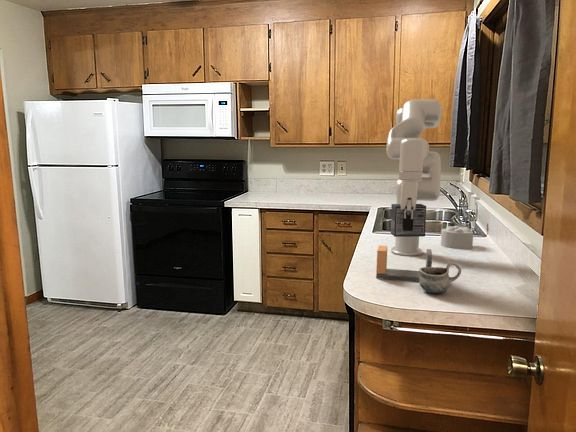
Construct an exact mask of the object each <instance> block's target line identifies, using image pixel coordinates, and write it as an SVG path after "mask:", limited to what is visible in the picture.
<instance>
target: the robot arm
mask: <svg viewBox="0 0 576 432" xmlns="http://www.w3.org/2000/svg"><path fill="white" fill-rule="evenodd" d="M442 106H443V105H442V103H441V102H440V101H439V100H437V99H435V98H434V99H433V98H432V99H431V98H429V99H428V98H427V99H426V98H425V99H420V98H419V99H411V100H408V101H406V102H404V105H403V106H402V107H401V108H399V109H398V110H397V111H396V114H395V122H396V123H395V126H393V127H392V128H391V129H390V130H389V132H388V135H387V140H386V147H385V149H386V155H387V157H388V158H389V159H391V160H397V161H398V160H399V170H398V179H397V180H396V183H395V194H396V195H395V197H396V204H400V210H401V211H402V209H404V208H405V210H404V211H405V212H404V218H403V230H404V231H413V211H414V210H415V208H416V204H417V201H418V202H419V201H420V202H421V201H423V202H425V201H426V202H428V201H429V202H434V201H435V202H436V201H437V200H438V199H439V197H440V194H441V175H442V174H441V172H442V171H441V169H442V164H441V163H442V162H441V161H442V160H441V156H440V153H438V152H437V151H430V144H429V142H428V141H427V139H425V138H422V136H421V134H423V132H424V130H425V129H435V128H437V127H439V125H440V123H441V120H442V119H441V118H442V116H443V115H442V114H443V107H442ZM423 175H426V176H427V177H425V176H424V177H423ZM406 206H407V209H406ZM411 208H412V209H411ZM394 238H395V241H394V244H395V245H394V246H393V247H391V249H390V251H391V253H392V254H396V255H400V256H412V257H413V256H420V255H422V253H423V250H422V248H420V247H419V246H420V237H394Z"/></svg>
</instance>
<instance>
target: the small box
mask: <svg viewBox="0 0 576 432" xmlns="http://www.w3.org/2000/svg"><path fill="white" fill-rule="evenodd" d="M390 208H391V210H390V216H391V217H390V234H391V235H392V236H393V237H394V238H396V237H419V238H421V237H426V221H427V220H426V219H427V205H425V204H423V203H416V208H415V210H414V211H413V231H404V230H403V218H404V212H405V211H404V210H405V208H404V209H402V211H401V210H400V204H397V203H391V207H390ZM406 209H407V206H406ZM411 209H412V208H411Z"/></svg>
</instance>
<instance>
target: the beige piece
mask: <svg viewBox="0 0 576 432" xmlns="http://www.w3.org/2000/svg"><path fill="white" fill-rule="evenodd" d="M440 233H441V236H440V246H441V247H443V248H446V249H448V248H449V249H452V250H453V249H456V250H472V249H473V242H474V231H473V230H472V229H470V227H467V226H460V225H454V226H452V225H449V226H447V227H446V228H442V229H441V232H440Z"/></svg>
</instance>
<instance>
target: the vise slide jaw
mask: <svg viewBox="0 0 576 432" xmlns="http://www.w3.org/2000/svg"><path fill="white" fill-rule="evenodd" d="M387 262H388V245H378V247H377V251H376V274H377V273H378V274H385V273H386V269H388V268H387V265H388V264H387Z"/></svg>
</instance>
